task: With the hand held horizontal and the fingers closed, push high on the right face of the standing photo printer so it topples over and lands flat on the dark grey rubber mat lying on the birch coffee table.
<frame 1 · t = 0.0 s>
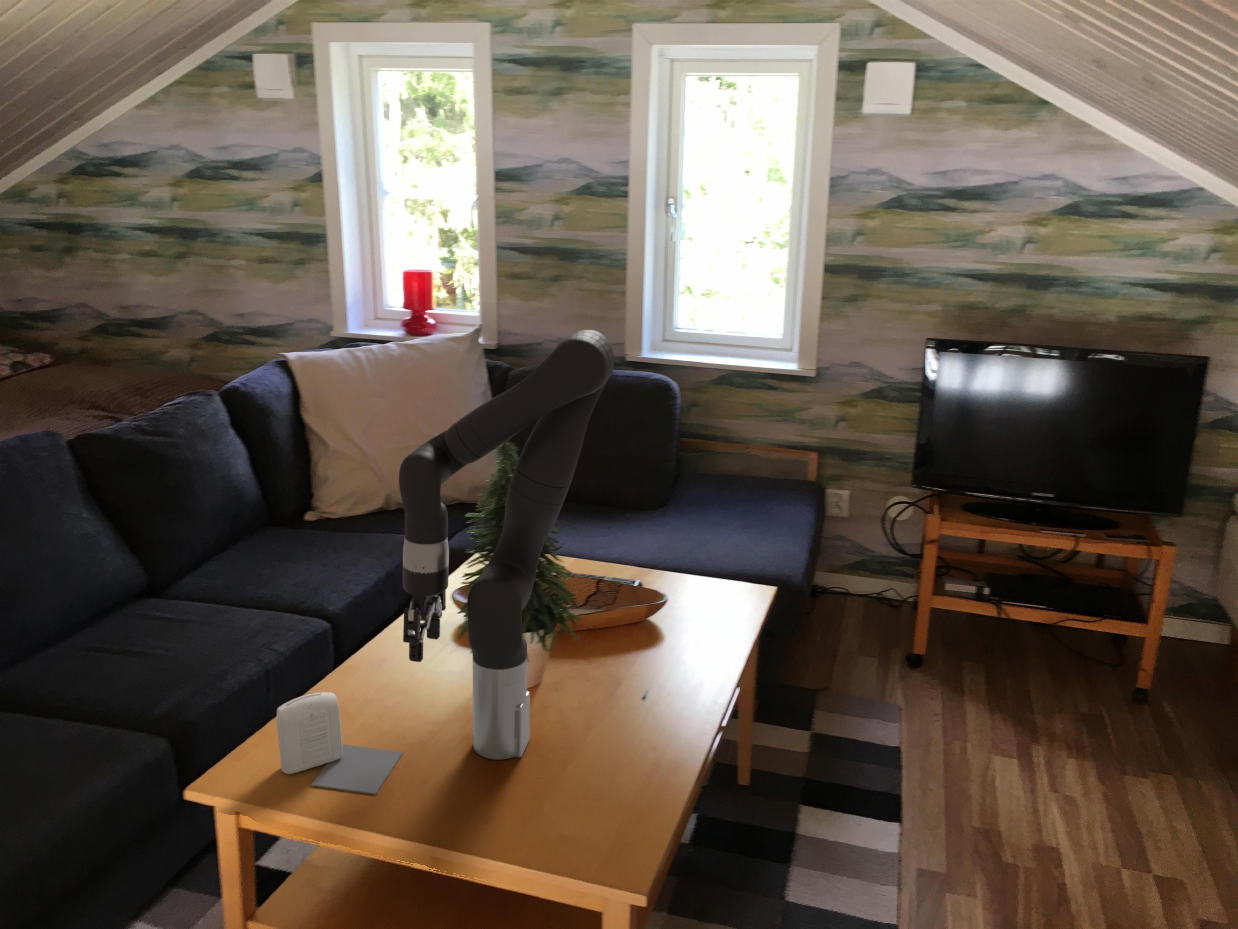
hand: (424, 649, 176), 17 cm above the table, tool pointing down, fingers open, 8 cm apart
mat: (358, 769, 171), on the table
photo printer: (313, 763, 172), on the table, touching mat
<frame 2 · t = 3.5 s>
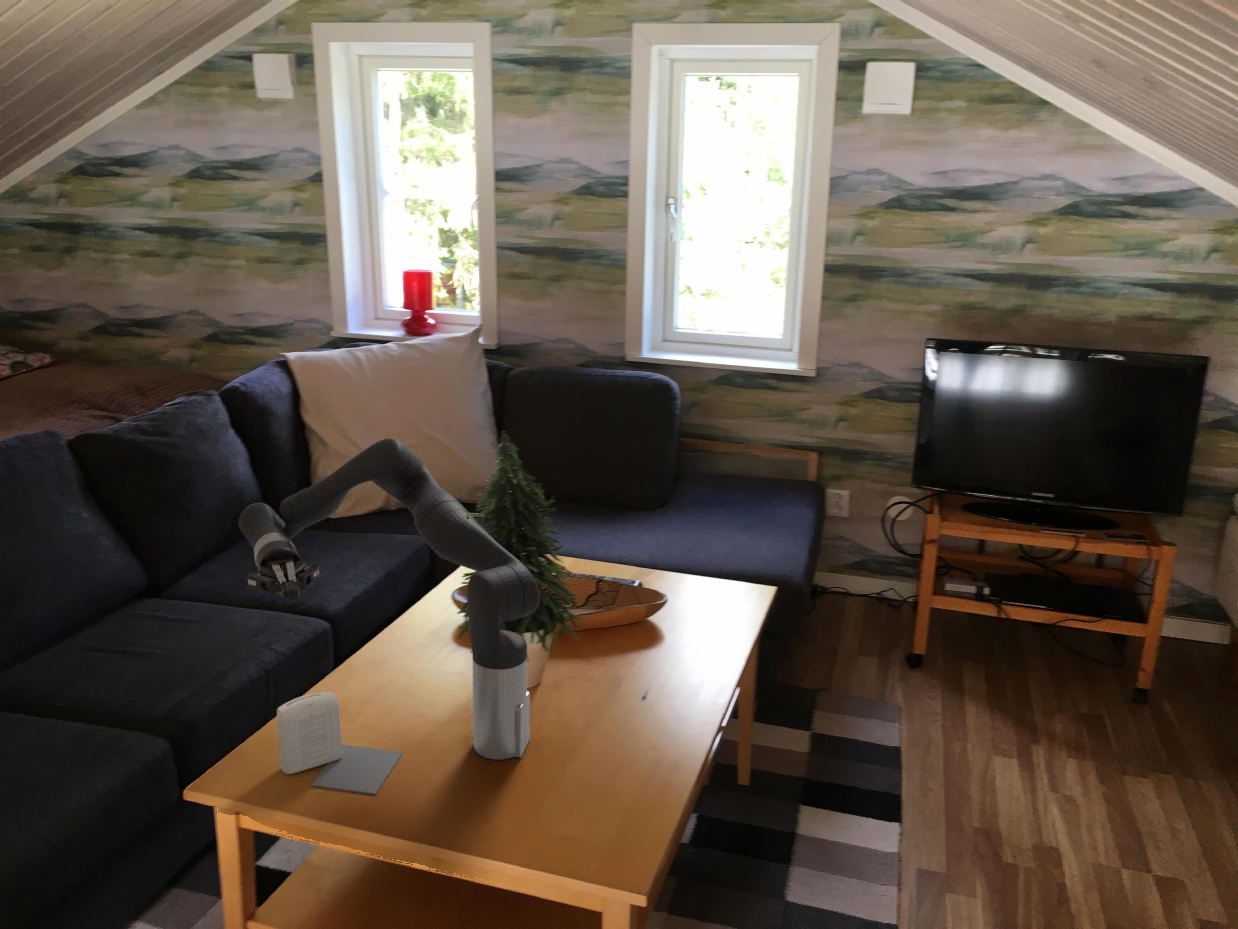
hand: (291, 595, 178), 24 cm above the table, tool horizontal, fingers closed
nothing on the table moved.
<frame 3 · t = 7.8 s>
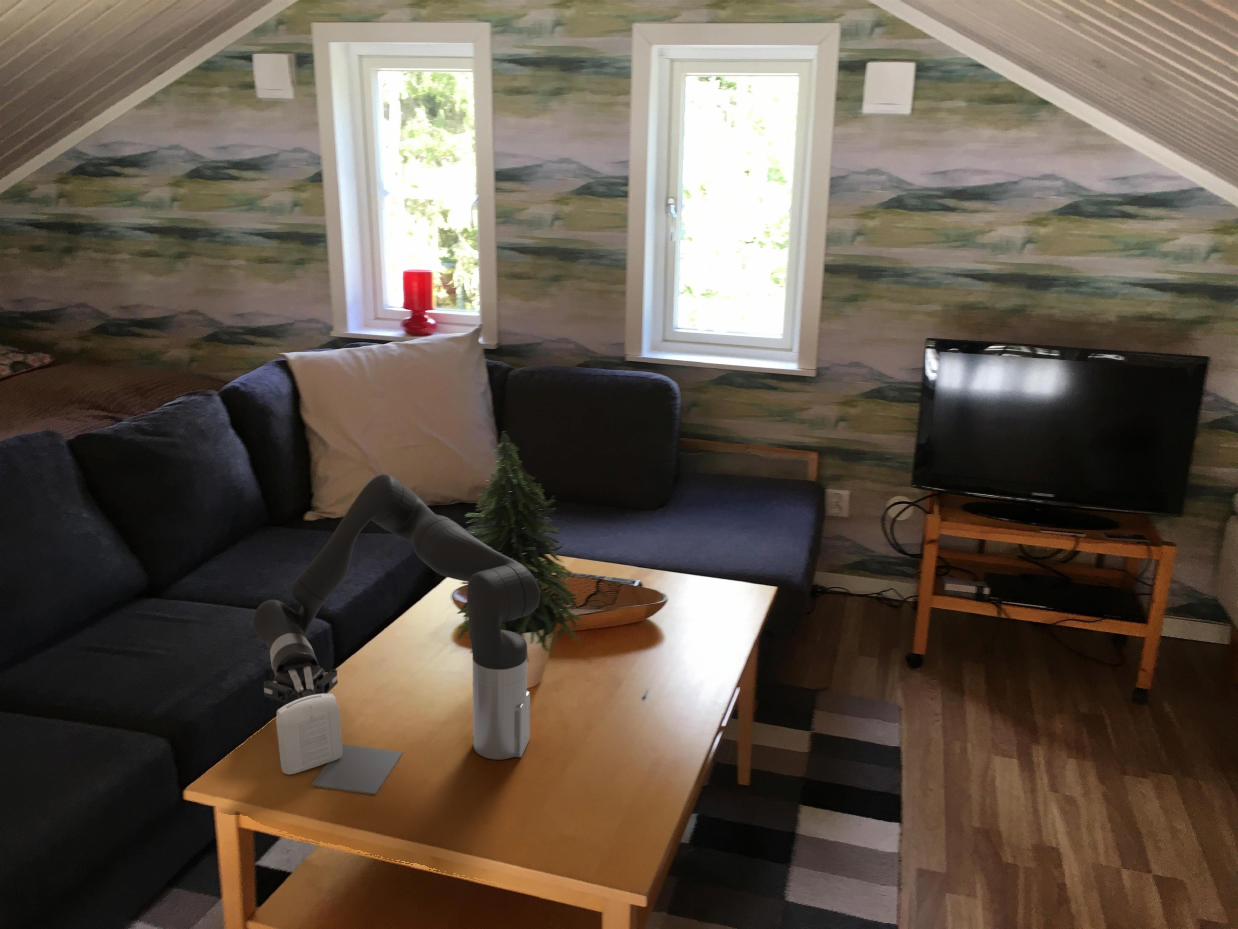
hand: (309, 707, 171), 10 cm above the table, tool horizontal, fingers closed
photo printer: (313, 763, 172), on the table, touching gripper, mat
everything else where it was.
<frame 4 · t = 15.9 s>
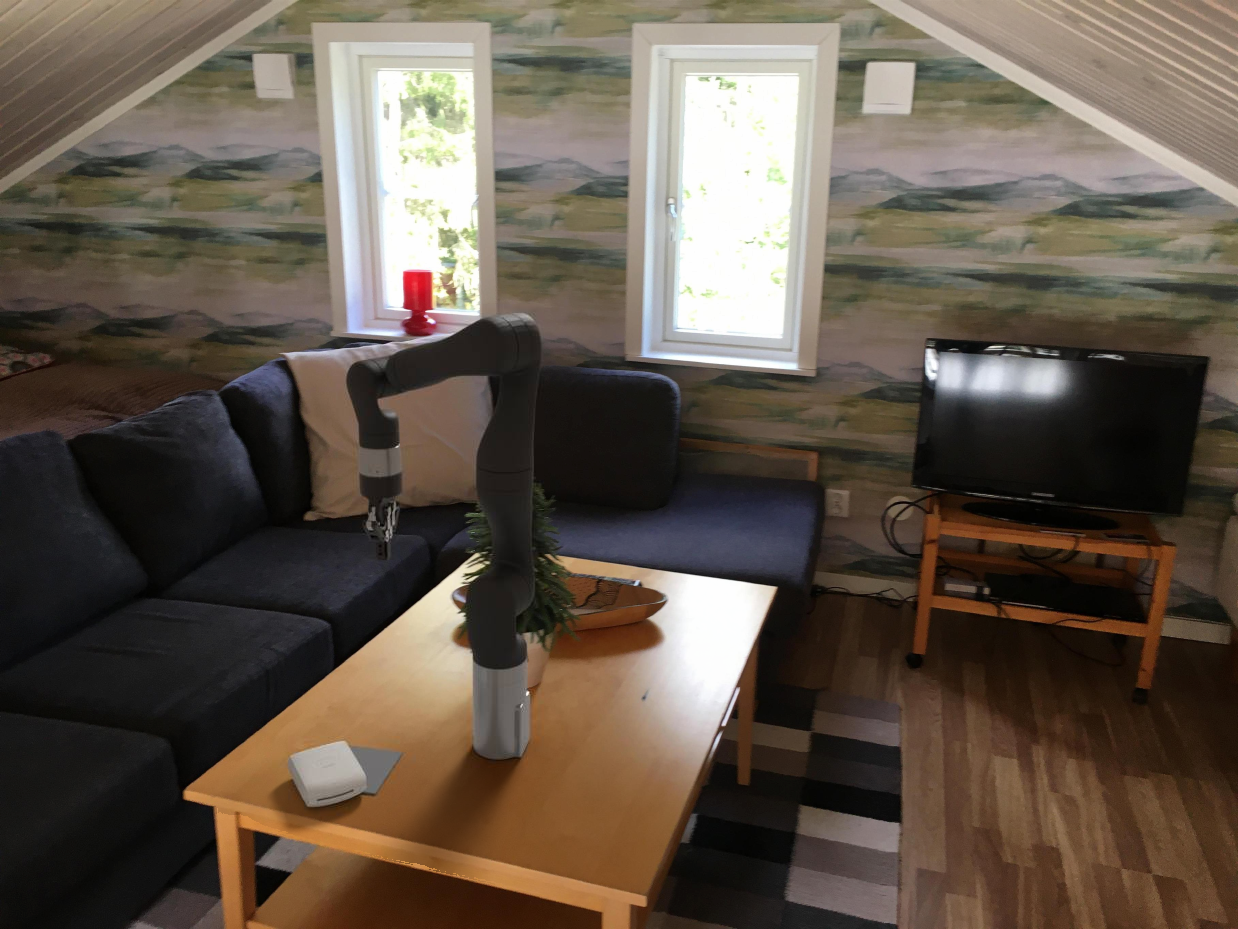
hand: (383, 558, 188), 27 cm above the table, tool pointing down, fingers closed
photo printer: (317, 755, 170), point 2 cm above the table, touching mat
everything else where it was.
at the end: photo printer tilted 90°; photo printer inside the target area (5.7 cm from its centre), point 2.4 cm above the table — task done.
